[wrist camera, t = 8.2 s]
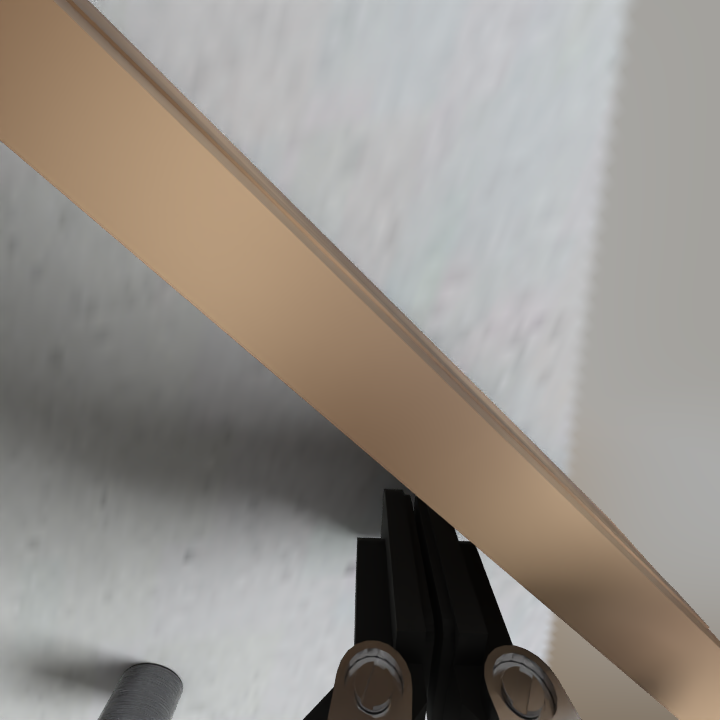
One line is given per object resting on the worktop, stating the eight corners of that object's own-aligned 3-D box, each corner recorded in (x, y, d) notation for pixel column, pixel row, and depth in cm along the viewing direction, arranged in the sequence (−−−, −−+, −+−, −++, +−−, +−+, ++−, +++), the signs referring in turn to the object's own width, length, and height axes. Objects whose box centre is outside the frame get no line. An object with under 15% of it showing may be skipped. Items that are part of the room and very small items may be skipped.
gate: (53, 71, 7) (-363, -162, 3) (93, 1, 7) (-315, -365, 3) (568, 548, 11) (694, 736, 7) (611, 518, 11) (774, 697, 7)
